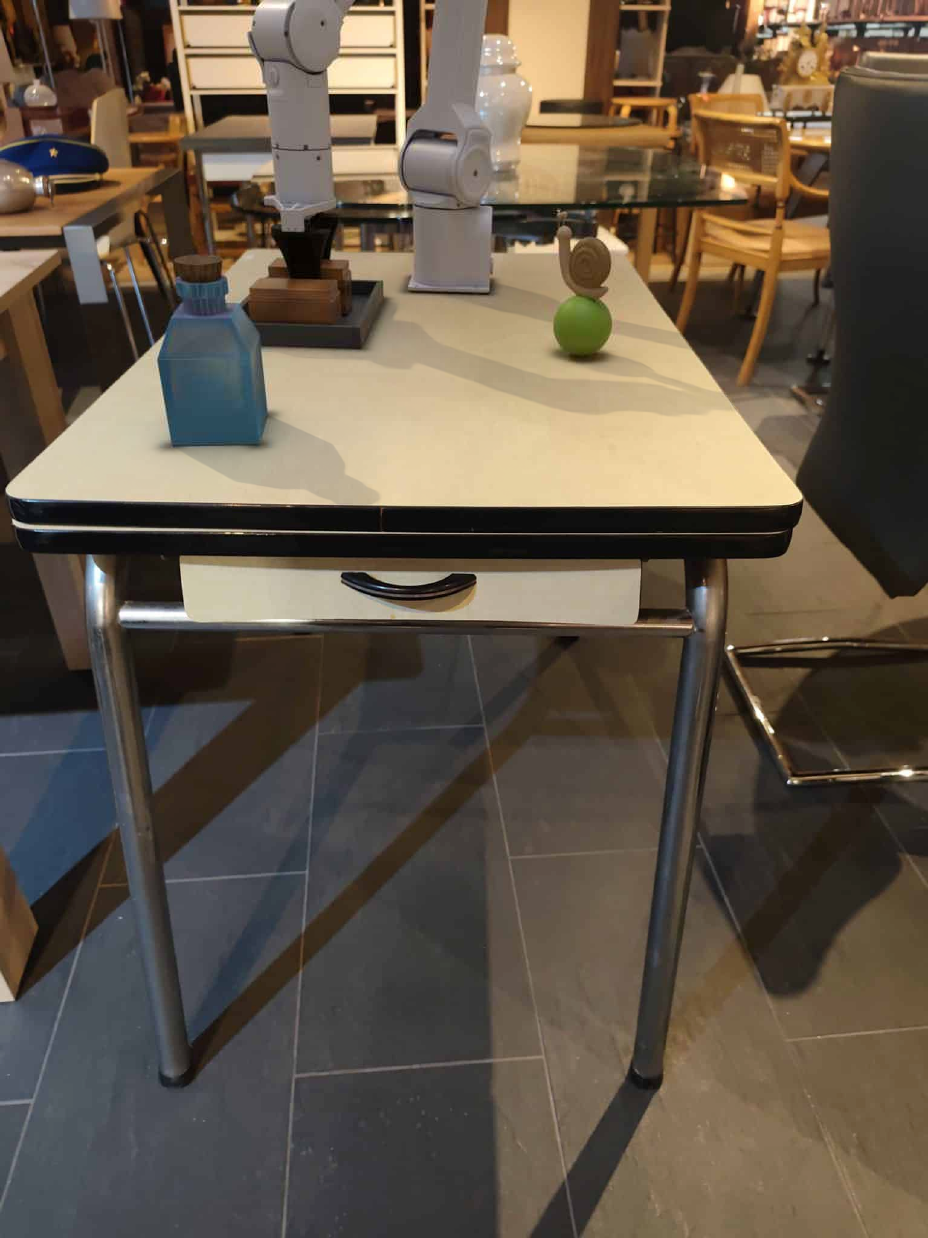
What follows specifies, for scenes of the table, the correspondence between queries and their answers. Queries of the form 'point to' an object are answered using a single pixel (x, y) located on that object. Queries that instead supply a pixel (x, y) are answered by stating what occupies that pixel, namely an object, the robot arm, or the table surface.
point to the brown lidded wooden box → (323, 277)
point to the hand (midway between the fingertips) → (312, 293)
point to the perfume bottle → (211, 362)
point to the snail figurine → (583, 294)
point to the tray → (333, 336)
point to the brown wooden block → (295, 301)
